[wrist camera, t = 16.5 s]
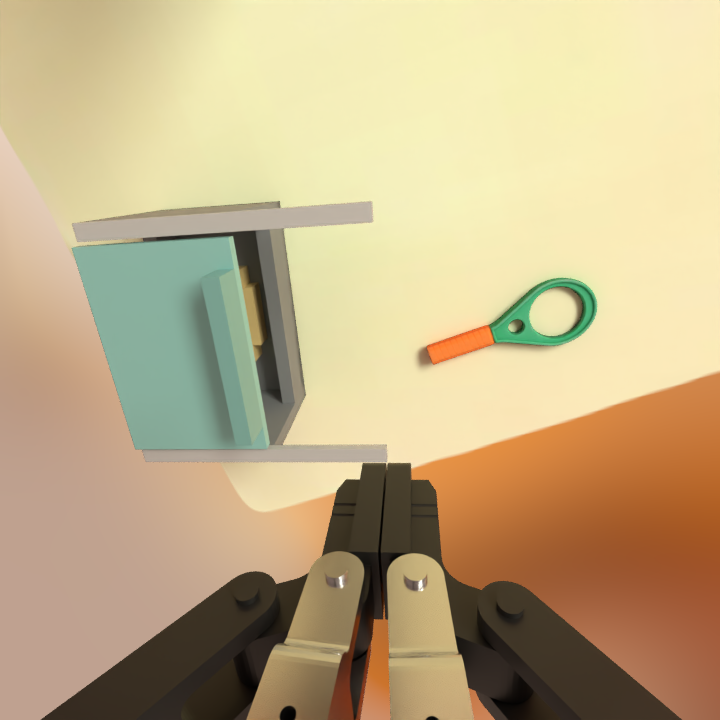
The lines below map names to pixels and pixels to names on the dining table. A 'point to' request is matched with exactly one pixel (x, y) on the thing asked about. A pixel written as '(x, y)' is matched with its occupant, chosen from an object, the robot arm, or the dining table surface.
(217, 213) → the housing
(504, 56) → the dining table surface
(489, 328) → the magnifying glass
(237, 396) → the lid
